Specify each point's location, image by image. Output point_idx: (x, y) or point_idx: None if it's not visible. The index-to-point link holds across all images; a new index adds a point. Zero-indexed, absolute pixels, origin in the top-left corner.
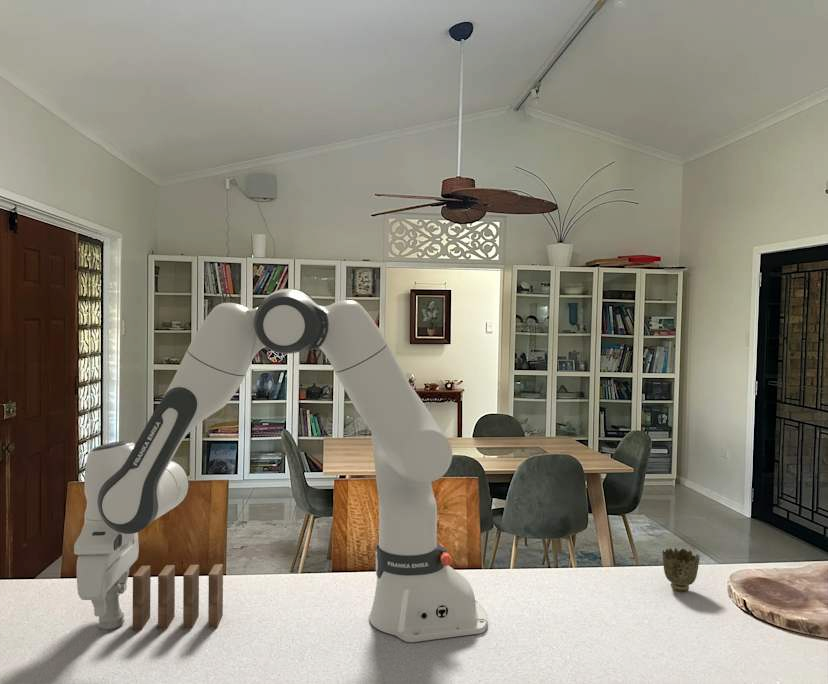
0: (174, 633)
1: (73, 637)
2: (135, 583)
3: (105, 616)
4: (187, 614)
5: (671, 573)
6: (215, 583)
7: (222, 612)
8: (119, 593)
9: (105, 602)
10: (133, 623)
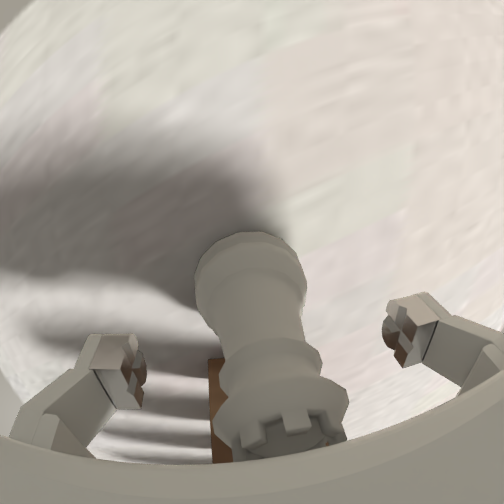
0: (202, 435)
1: (121, 173)
2: None
3: (208, 303)
4: None
5: None
6: None
7: None
8: (389, 315)
9: (99, 426)
10: (209, 379)
